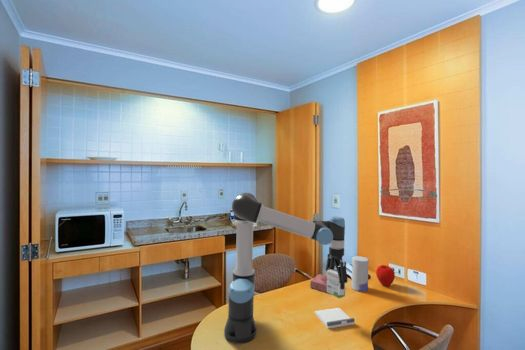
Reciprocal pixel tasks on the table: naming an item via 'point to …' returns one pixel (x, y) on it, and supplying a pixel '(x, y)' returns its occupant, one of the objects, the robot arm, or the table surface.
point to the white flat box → (334, 318)
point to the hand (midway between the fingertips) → (335, 290)
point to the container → (360, 273)
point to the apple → (385, 275)
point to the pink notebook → (319, 283)
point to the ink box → (333, 283)
